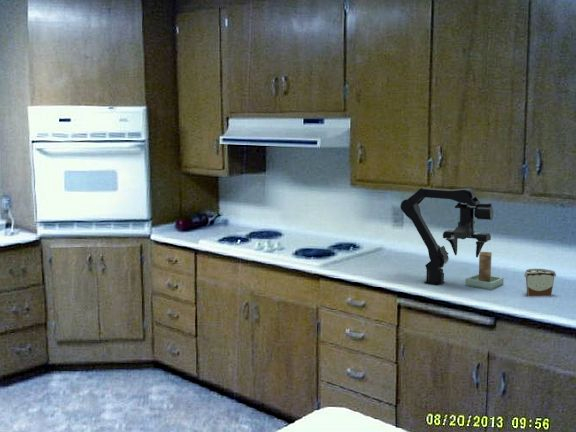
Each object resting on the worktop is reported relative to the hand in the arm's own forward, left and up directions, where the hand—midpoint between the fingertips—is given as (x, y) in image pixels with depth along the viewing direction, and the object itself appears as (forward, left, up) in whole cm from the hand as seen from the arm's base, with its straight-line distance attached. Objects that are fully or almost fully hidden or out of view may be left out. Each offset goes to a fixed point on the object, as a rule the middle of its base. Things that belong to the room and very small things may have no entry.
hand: (466, 256), depth 269 cm
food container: (+27, +8, -13) cm, 31 cm away
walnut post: (+5, +8, -12) cm, 15 cm away
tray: (+5, +8, -13) cm, 16 cm away
